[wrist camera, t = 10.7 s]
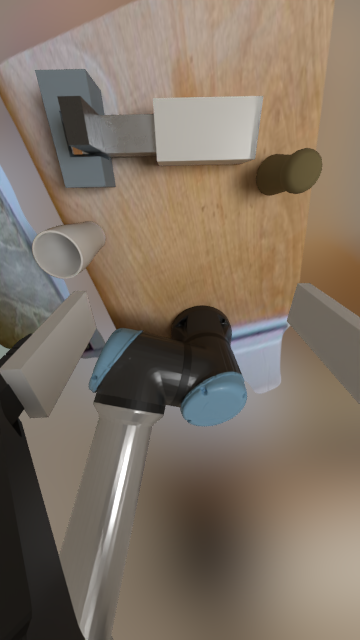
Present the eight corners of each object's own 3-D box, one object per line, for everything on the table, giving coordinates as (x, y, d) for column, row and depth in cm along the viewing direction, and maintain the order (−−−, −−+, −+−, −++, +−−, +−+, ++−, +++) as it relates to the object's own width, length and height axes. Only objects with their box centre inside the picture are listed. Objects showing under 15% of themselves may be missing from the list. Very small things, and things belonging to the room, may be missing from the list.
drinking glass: (68, 221, 40) (20, 236, 27) (101, 212, 40) (68, 224, 27) (84, 256, 44) (48, 284, 31) (115, 248, 43) (91, 274, 30)
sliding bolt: (195, 155, 34) (204, 142, 25) (83, 158, 34) (48, 146, 24) (196, 120, 32) (206, 92, 22) (75, 123, 32) (34, 96, 22)
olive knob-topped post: (253, 163, 36) (281, 154, 27) (289, 147, 35) (331, 132, 26) (259, 200, 39) (286, 204, 30) (292, 187, 38) (330, 186, 29)
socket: (115, 186, 37) (105, 186, 32) (81, 187, 37) (65, 187, 32) (100, 90, 31) (85, 69, 26) (59, 91, 31) (34, 70, 25)
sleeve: (241, 163, 36) (254, 159, 30) (159, 166, 36) (157, 161, 30) (246, 113, 33) (263, 95, 27) (156, 115, 33) (152, 98, 27)
